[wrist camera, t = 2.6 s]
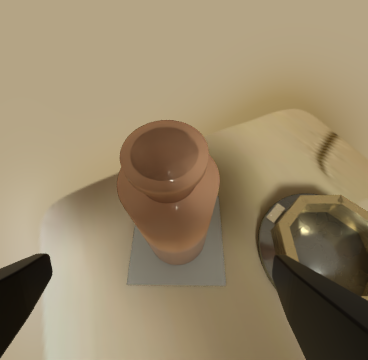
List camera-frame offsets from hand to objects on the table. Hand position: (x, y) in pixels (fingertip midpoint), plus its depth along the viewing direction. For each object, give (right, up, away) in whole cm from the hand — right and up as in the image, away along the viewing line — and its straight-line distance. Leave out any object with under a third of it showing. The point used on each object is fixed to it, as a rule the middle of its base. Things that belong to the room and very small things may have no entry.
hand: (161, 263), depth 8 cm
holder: (+13, -3, +10) cm, 17 cm away
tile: (0, -2, +11) cm, 11 cm away
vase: (0, -2, +10) cm, 11 cm away
